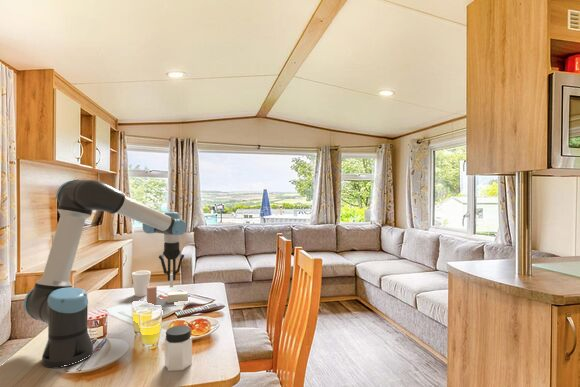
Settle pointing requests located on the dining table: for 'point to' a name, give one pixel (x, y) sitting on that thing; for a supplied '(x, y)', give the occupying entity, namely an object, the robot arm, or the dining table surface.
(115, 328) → the dining table surface
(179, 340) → the jar
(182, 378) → the dining table surface
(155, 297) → the brick pillar
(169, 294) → the cream pillar
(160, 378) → the dining table surface
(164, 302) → the mat
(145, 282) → the foam cup
